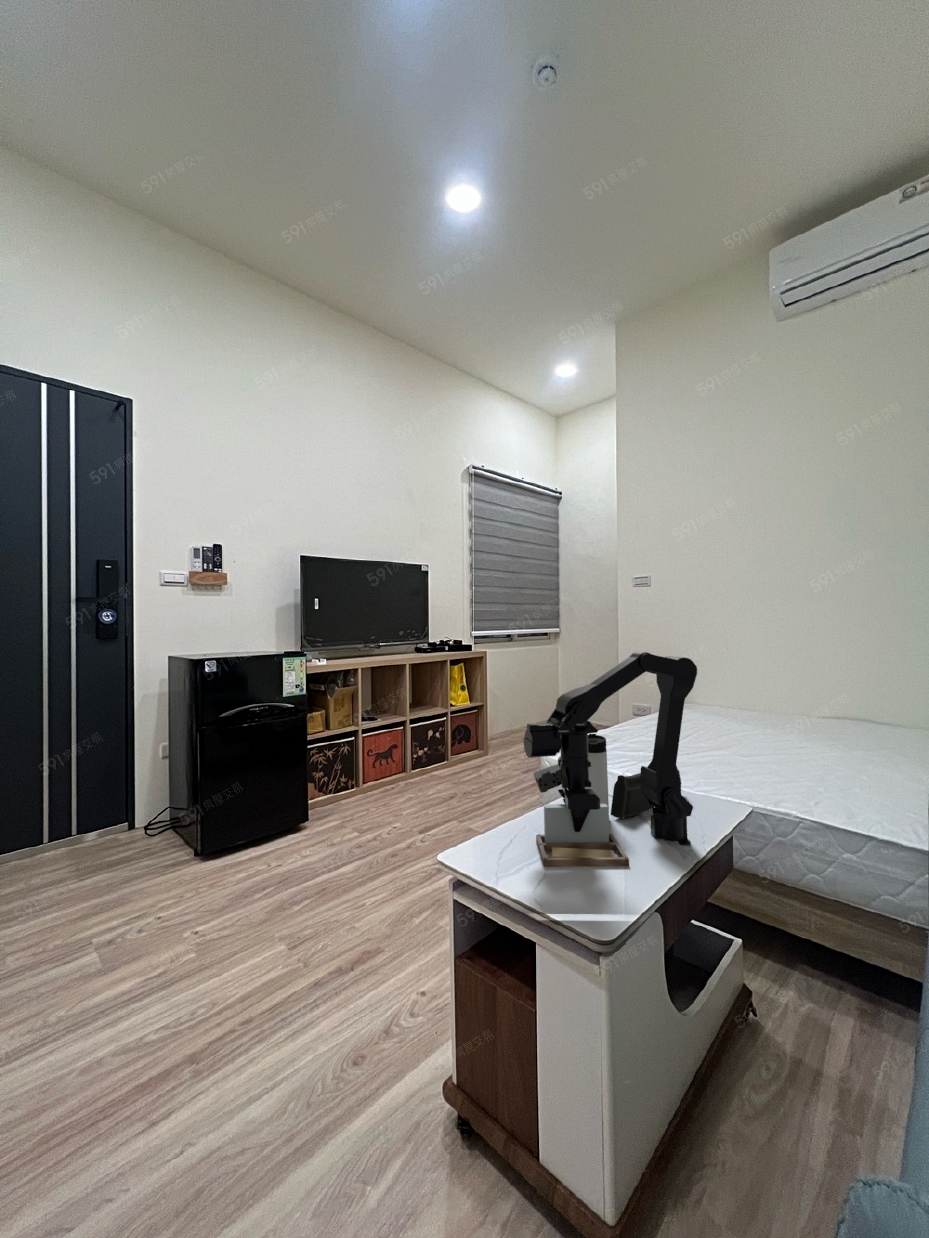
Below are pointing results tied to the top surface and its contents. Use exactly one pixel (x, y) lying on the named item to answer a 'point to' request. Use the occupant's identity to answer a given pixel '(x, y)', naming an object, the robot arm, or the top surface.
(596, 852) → the offcut top
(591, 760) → the travel mug
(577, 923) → the top surface
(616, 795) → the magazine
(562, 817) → the gray rectangular panel
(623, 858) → the brown wooden tray
